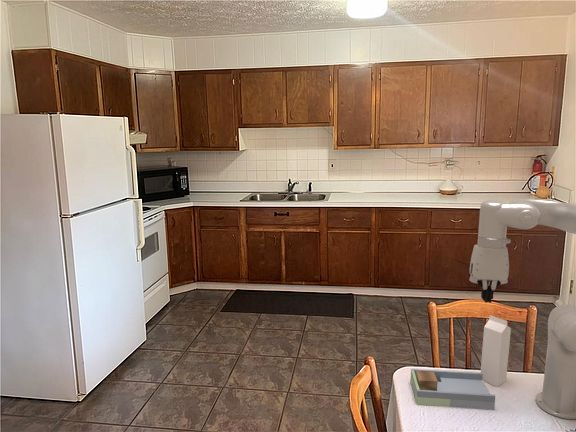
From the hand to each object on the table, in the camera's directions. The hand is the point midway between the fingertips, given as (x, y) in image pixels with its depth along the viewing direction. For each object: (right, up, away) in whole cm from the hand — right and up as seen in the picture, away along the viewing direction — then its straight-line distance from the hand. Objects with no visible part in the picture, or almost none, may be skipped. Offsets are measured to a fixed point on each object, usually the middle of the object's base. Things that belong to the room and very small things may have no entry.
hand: (486, 300), depth 133 cm
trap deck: (-9, -31, +5) cm, 32 cm away
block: (-17, -28, +5) cm, 33 cm away
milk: (+8, -29, +13) cm, 33 cm away
